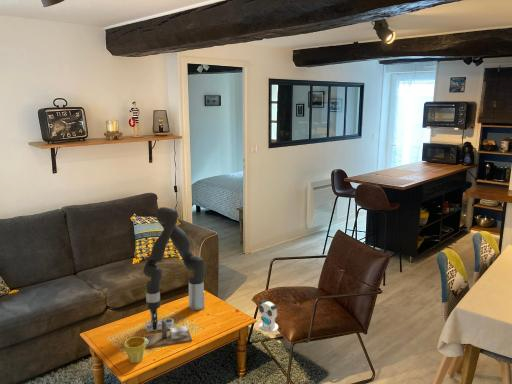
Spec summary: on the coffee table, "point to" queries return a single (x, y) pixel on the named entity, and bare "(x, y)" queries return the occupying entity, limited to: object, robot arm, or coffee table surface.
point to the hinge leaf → (160, 324)
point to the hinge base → (169, 336)
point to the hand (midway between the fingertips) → (154, 325)
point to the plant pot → (135, 349)
